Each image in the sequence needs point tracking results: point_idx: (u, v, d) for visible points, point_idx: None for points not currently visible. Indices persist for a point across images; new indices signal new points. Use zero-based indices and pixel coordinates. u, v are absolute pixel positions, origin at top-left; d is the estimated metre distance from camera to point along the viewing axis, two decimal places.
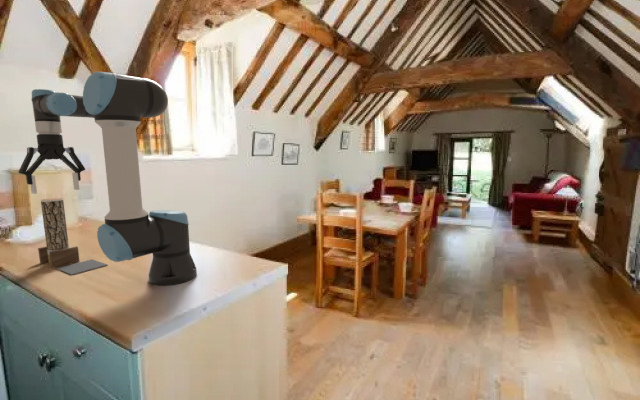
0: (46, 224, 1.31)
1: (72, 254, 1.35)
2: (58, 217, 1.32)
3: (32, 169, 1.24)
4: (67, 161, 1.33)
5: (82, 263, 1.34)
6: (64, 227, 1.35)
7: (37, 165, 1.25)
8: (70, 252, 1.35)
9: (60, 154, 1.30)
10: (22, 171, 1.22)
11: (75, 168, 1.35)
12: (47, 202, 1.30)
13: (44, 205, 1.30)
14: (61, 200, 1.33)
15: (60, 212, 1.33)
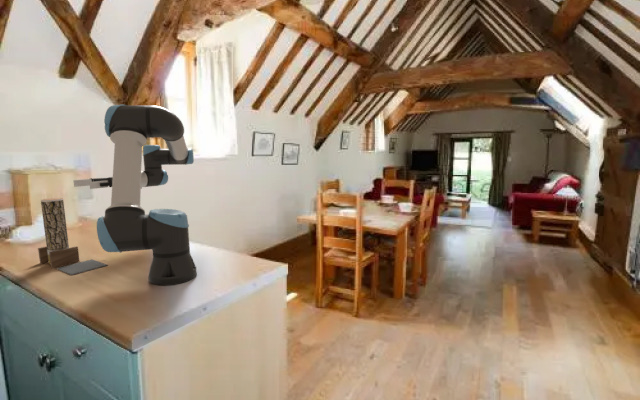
0: (46, 224, 1.31)
1: (72, 254, 1.35)
2: (58, 217, 1.32)
3: (96, 178, 1.52)
4: None
5: (82, 263, 1.34)
6: (64, 227, 1.35)
7: (101, 178, 1.52)
8: (70, 252, 1.35)
9: None
10: None
11: None
12: (47, 202, 1.30)
13: (44, 205, 1.30)
14: (61, 200, 1.33)
15: (60, 212, 1.33)
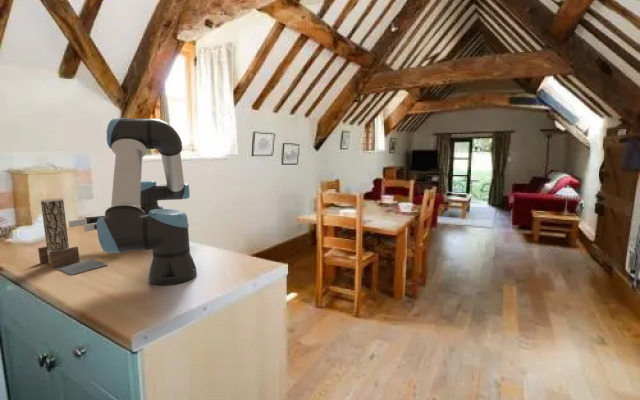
0: (46, 224, 1.31)
1: (72, 254, 1.35)
2: (58, 217, 1.32)
3: (91, 217, 1.52)
4: None
5: (82, 263, 1.34)
6: (64, 227, 1.35)
7: (96, 217, 1.52)
8: (70, 252, 1.35)
9: None
10: None
11: None
12: (47, 202, 1.30)
13: (44, 205, 1.30)
14: (61, 200, 1.33)
15: (60, 212, 1.33)
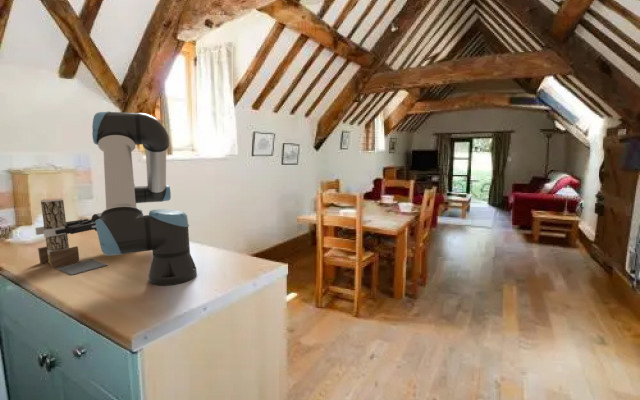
0: (46, 224, 1.31)
1: (72, 254, 1.35)
2: (58, 217, 1.32)
3: None
4: (79, 224, 1.39)
5: (82, 263, 1.34)
6: None
7: (68, 223, 1.41)
8: (70, 252, 1.35)
9: (87, 221, 1.42)
10: None
11: (70, 226, 1.35)
12: (47, 202, 1.30)
13: (44, 205, 1.30)
14: (61, 200, 1.33)
15: (60, 211, 1.33)
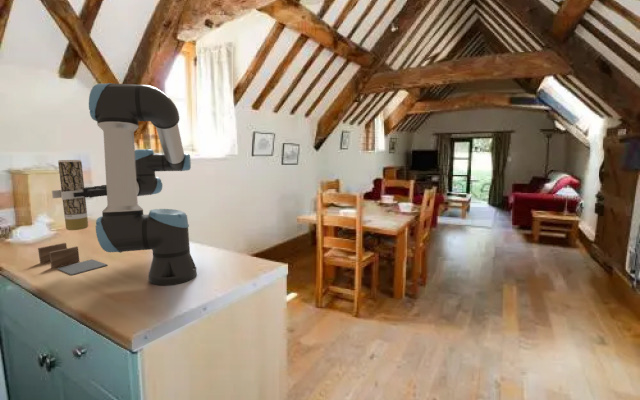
0: (64, 186, 1.23)
1: (72, 254, 1.35)
2: (76, 179, 1.24)
3: None
4: (97, 188, 1.31)
5: (82, 263, 1.34)
6: None
7: None
8: (70, 252, 1.35)
9: (106, 186, 1.34)
10: None
11: (89, 189, 1.27)
12: (65, 162, 1.22)
13: (62, 165, 1.22)
14: (79, 161, 1.25)
15: (78, 173, 1.25)
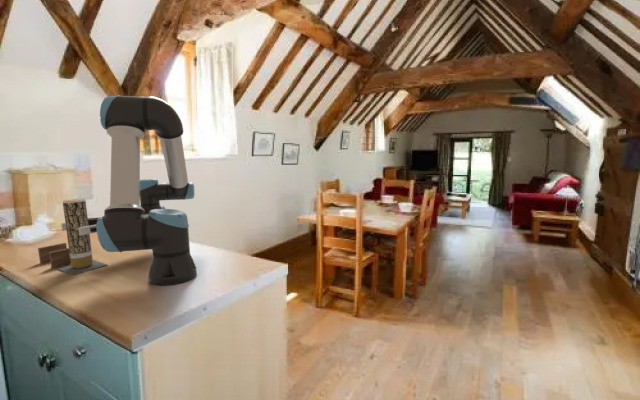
0: (69, 226, 1.25)
1: None
2: (81, 219, 1.26)
3: None
4: None
5: None
6: None
7: (92, 219, 1.37)
8: None
9: None
10: None
11: None
12: (69, 203, 1.24)
13: (67, 206, 1.24)
14: (83, 201, 1.27)
15: (82, 213, 1.27)
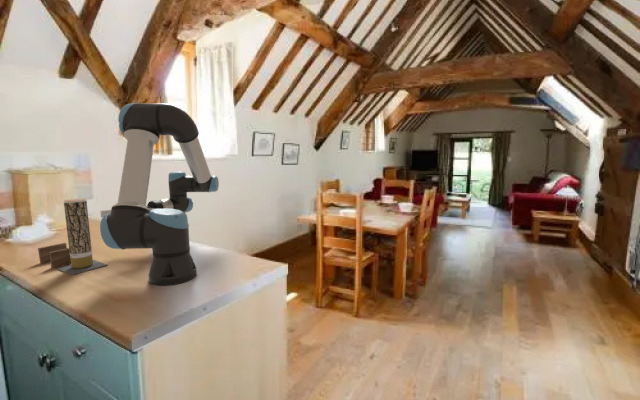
0: (70, 226, 1.25)
1: None
2: (82, 219, 1.27)
3: None
4: None
5: None
6: (87, 229, 1.29)
7: None
8: None
9: (145, 207, 1.48)
10: None
11: None
12: (70, 203, 1.24)
13: (68, 206, 1.24)
14: (84, 201, 1.28)
15: (83, 213, 1.27)
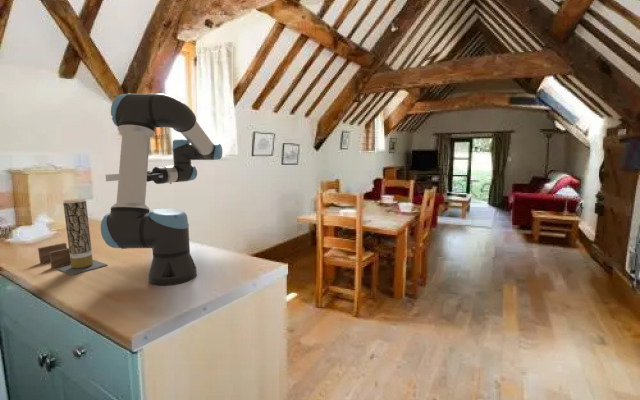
0: (69, 226, 1.25)
1: None
2: (81, 219, 1.26)
3: None
4: (147, 174, 1.45)
5: None
6: (87, 229, 1.29)
7: None
8: None
9: (150, 172, 1.48)
10: None
11: None
12: (70, 203, 1.24)
13: (67, 206, 1.24)
14: (84, 201, 1.27)
15: (83, 213, 1.27)
